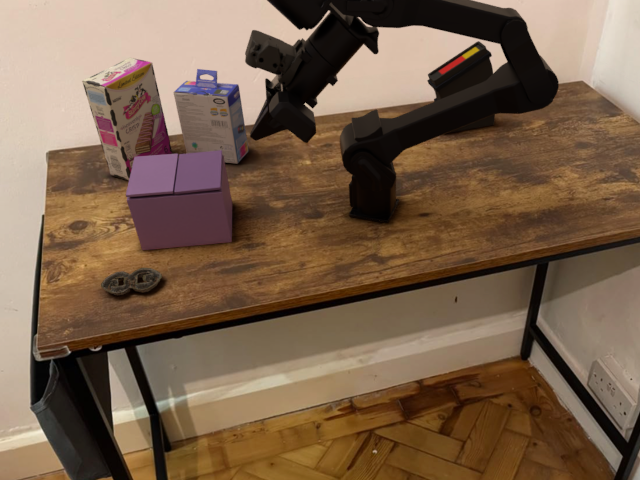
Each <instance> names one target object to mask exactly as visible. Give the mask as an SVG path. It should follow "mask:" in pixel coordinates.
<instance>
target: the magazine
mask: <svg viewBox="0 0 640 480" xmlns="http://www.w3.org/2000/svg"><path fill="white" fill-rule="evenodd" d="M491 57H493V55H492V52H491V51H490V50H489V49H487V46H486V45H485V44H484V43H482V42H481V40H480V41H476V42H474V43H473V44H471V45H470V46H468V47H467V48H465V49H463V50H462V51H461V52H459V53H458V54H456V55H455V56H453V57H452V58H450V59H449V60H447V61H445V62H444V63H442V64H441V65H439V66H438V67H436V68H435V69H433V70H432V71H430V72H428V73H427V76H428V79H427V80H426V81H427V83H428V86H430V87H431V88H432V89H433V91H434V93H435V98H433V102H435V101H438V100H440V99H443V98H445V97H447V96H450V95H452V94H455V93H457V92H460V91H462V90H465V89H467V88H470V87H472V86H475V85H477V84H480V83H482V82H484V81H486V80H487V79H488V78H489V77H490V76H491V75H492V74H493V73H494V70H493V64H492V61H491ZM495 119H496V114H494V115H492V116H489V117H487V118H484V119H481V120H479V121H476V122H474V123H471V124H469V125H466V126H464V127H461V128H459V129H456V130H453V131H451V132H448V133H447V134H452V133H456V132H457V133H458V132H463V131H467V130H473V129H474V130H475V129H480V128H485V127H490V126H494V125H495V121H496V120H495Z"/></svg>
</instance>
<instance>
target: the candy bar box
mask: <svg viewBox="0 0 640 480" xmlns="http://www.w3.org/2000/svg"><path fill="white" fill-rule="evenodd" d="M81 82H82V85H83V86H82V87H83V90H84V92H85V95H86V99H87V101H88V106H89V109H90V112H91V115H92V118H93V121H94V124H95V128H96V132H97V135H98V138H99V141H100V144H101V148H102V151H103V154H104V158H105V161H106V164H107V168H108V171H109V174H110V176H112V177H116V178H119V179H122V180H125V181H128V182H129V179H130V174H131V170H132V166H133V161H134V157H138V156H151V155H164V154H173V149H172V144H171V141H170V135H169V133H168V128H167V122H166V119H165V118H166V117H165V113H164V110H163V105H162V100H161V97H160V96H161V95H160V92H159V88H158V83H157V78H156V73H155V70H154V65H153V62H151V61H148V60H143V59H139V58H138V59H137V58H134V57H128V58H126V59H124V60H122V61H120V62H118V63H116V64H114V65H112V66H111V67H108V68H106V69H104V70H101V71H99V72H98V73H96V74H94V75H91V76H90V77H87V78H85V79H83V80H82V81H81Z"/></svg>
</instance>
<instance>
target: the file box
mask: <svg viewBox="0 0 640 480" xmlns="http://www.w3.org/2000/svg"><path fill="white" fill-rule="evenodd" d="M178 160H179V153H172V154H164V155H151V156H138V157H134V161H133V166H132V170H131V174H130V179H129V181H128V183H127V186H126V187H127V188H126V192H125V197H126V203H127V206H128V209H129V212H130V215H131V219H132V222H133V225H134V229H135V232H136V235H137V237H138V241H139V245H140V247H141V251H151V250H160V249H171V248H172V249H173V248H182V247H183V248H184V247H193V246H195V247H196V246H204V245H205V246H206V245H215V244H226V243H232V241H233V199H232V193H231V188H230V184H229V177H228V173H227V168H226V167H227V166H226V162H225V161H224V156H223V155H222V174H221V190H212V191H202V192H192V193H182V194H175V193H174V190H175V183H176V175H177V168H178Z"/></svg>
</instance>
